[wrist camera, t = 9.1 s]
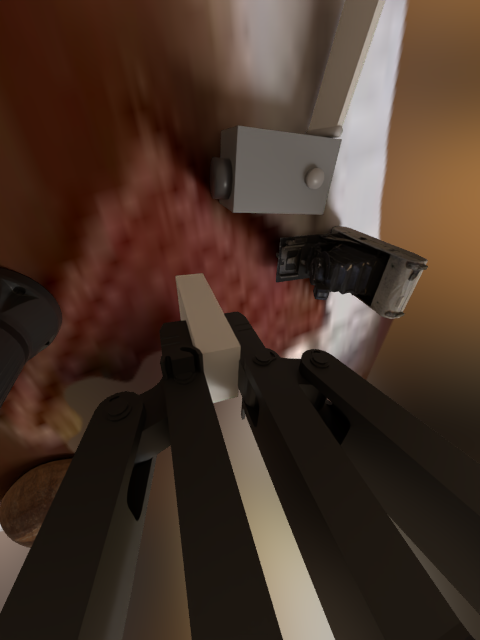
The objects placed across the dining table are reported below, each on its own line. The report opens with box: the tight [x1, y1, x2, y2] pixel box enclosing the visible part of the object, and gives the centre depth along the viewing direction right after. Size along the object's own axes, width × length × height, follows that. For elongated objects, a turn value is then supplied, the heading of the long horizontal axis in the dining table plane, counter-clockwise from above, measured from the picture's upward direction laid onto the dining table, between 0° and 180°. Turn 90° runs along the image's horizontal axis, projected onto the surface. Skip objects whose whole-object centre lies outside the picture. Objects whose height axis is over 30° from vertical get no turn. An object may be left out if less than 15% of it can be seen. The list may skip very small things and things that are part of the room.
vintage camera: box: [276, 226, 428, 319], centre depth 40 cm, size 10×15×20 cm, turn 88°
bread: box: [0, 458, 73, 548], centre depth 60 cm, size 26×27×13 cm
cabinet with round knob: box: [210, 126, 342, 215], centre depth 34 cm, size 16×9×9 cm, turn 85°
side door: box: [305, 0, 385, 138], centre depth 30 cm, size 14×2×7 cm, turn 167°
